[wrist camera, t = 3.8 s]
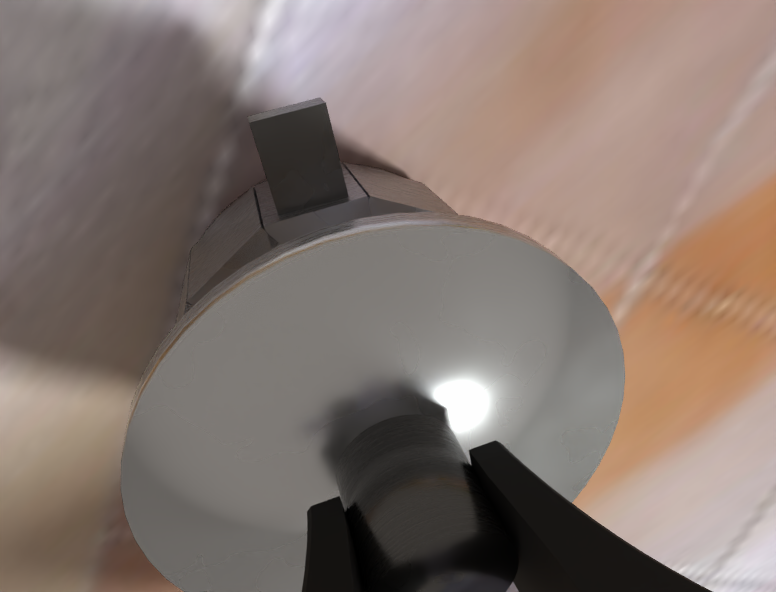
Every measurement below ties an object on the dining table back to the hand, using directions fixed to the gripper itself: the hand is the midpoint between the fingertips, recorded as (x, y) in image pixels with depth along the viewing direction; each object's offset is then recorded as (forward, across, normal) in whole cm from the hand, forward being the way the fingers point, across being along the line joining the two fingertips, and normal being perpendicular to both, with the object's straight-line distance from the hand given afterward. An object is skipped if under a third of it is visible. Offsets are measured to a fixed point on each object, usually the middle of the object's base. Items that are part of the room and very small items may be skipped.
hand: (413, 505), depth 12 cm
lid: (+3, 0, 0) cm, 3 cm away
